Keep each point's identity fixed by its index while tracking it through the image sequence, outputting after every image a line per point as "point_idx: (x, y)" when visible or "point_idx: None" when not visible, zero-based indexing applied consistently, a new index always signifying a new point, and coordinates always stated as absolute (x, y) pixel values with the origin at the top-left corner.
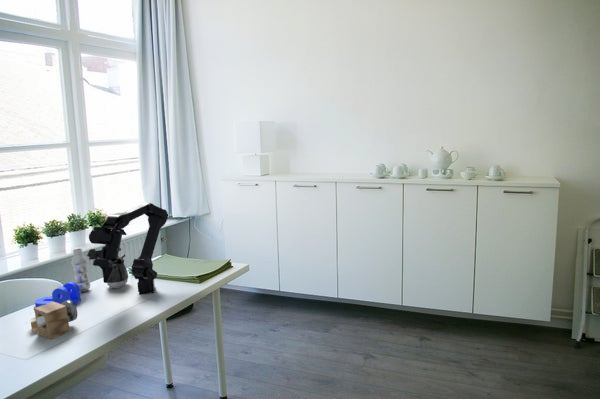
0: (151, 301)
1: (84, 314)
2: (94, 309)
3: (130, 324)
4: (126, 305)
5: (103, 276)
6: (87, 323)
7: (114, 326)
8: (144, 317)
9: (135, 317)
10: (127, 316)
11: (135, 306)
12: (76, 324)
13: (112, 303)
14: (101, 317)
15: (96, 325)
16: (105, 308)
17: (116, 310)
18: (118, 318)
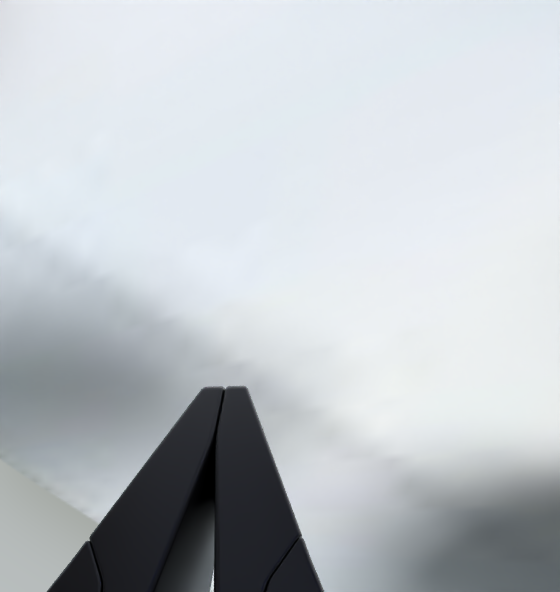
0: (425, 554)
1: (223, 18)
2: (348, 80)
3: (51, 454)
4: (384, 384)
5: (127, 498)
6: (41, 155)
7: (18, 371)
8: None
9: None
10: (159, 423)
11: (342, 455)
12: (16, 55)
13: (487, 236)
14: (148, 236)
15: (18, 246)
16: (351, 203)
17: (281, 323)
18: (129, 371)
